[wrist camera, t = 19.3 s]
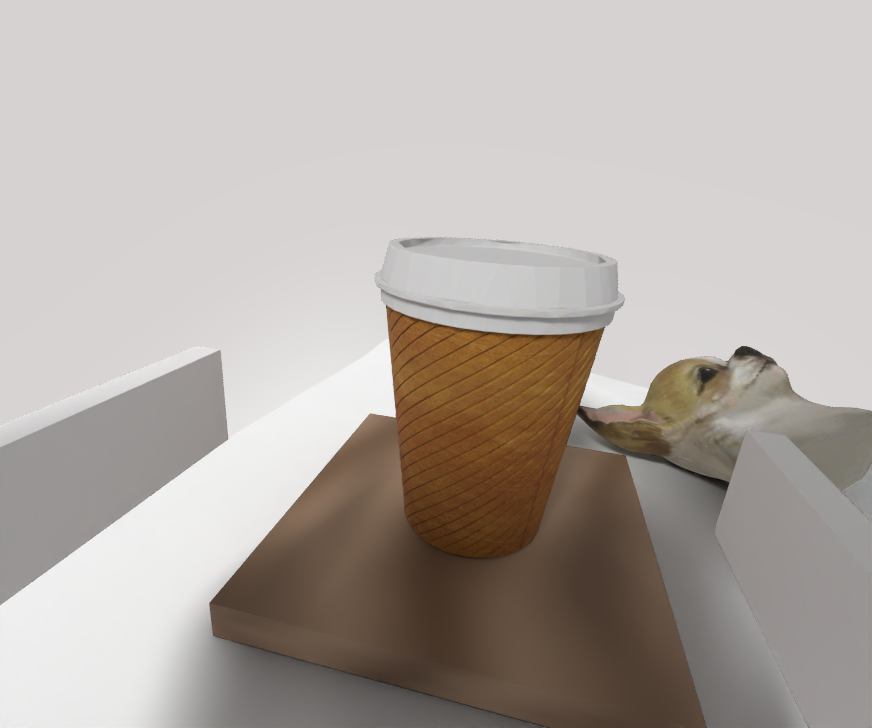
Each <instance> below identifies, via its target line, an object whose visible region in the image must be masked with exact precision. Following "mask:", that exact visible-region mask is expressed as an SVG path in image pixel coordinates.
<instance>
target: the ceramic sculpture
mask: <svg viewBox="0 0 872 728" xmlns="http://www.w3.org/2000/svg"><path fill="white" fill-rule="evenodd" d="M577 415H578V416H579V417H580V418H581V419H582V420H583V421H584V422H585V423H586V424H587V425H588V426H589V427H590V428H592V429H593V430H594V431H595V432H597V433H598V434H599V435H601V436H602V437H604V438H605V439H607V440H608V441H609V442H610V443H612V444H613V445H615V446H617V447H620V448H622V449H624V450H628V451H632V452H637V453H643V454H649V455H655V456H663V457H664V458H665V459H667V460H668V461H670V462H672V463H674V464H676V465H678V466H680V467H682V468H685V469H688V470H690V471H693V472H696V473H698V474H701V475H704V476H708V477H712V478H718V479H721V480H724V481H727V482H730V480H731V477H732V474H733V471H734V468H735V465H736V461H737V458H738V455H739V452H740V449H741V446H742V443H743V440H744V437H745V434H746V430H753V431H760V432H766V433H773V434H779V435H785V436H786V437H787V438H788V439H789V440H790V441H791V442H792V443H793V444H794V445H795V446H796V447H797V448H798V449H799V450H800V451H801V452H802V453H803V454H804V455H805V456H806V457H807V458H808V459H809V460H810V461H811V462H812V463H813V464H814V465H815V466H816V467H817V468H818V469H819V470H820V471H821V472H822V473H823V474H824V475H825V476H826V477H827V478H828V479H829V480H830V481H831V482H832V483H833V484H834V485H835V486H836V487H837V488H838V489H839V490H840V491H842V490H843V489H844V488H846V487H848V486H849V485H851V484H853V483H854V482H856V481H858V480H860V479H861V478H862V477H863V476H864V475H865V474H866V472H867V470H868V468H869V467H870V465H871V463H872V411H870V410H864V409H858V408H844V407H829V406H824V405H820V404H816V403H813V402H810V401H808V400H806V399H804V398H802V397H801V396H799V395H798V394H796V393H795V392H794V391H793V390H792V388H791V385H790V382H789V378H788V374H787V373H786V371H785V370H784V369H783V368H781V367H779V366H778V365H777V363H776V362H775V361H774V360H773V359H772V358H770V357H767V356H765V355H763V354H762V353H760V352H758V351H757V350H755V349H753V348H750V347H747V346H741V347H740V348H738V349H737V350H736V351H735V353H734V354H733V355H732V356H731V358H730V359H729V361H723V360H721V359H718V358H716V357H708V356H704V357H696V358H690V359H685V360H680V361H678V362H676V363H674V364H672V365H670V366H668V367H666V368H665V369H663V370H662V371H661V372H660V373H659V374H658V375H657V376H656V377H655V379H654V380H653V382H652V383H651V385H650V388H649V391H648V394H647V396H646V399H645V402H644V403H643V404H642V405H641V406H625V405H610V406H606V407H602V408H599V409H595V408H589V407H584V406H579V408H578V410H577Z"/></svg>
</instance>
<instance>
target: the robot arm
mask: <svg viewBox="0 0 872 728" xmlns="http://www.w3.org/2000/svg"><path fill="white" fill-rule="evenodd" d="M226 440H228V432H227V420H226V409H225V397H224V386H223V374H222V363H221V351H220V350H219V349H212V348H206V347H199V346H195V347H192V348H190V349H187V350H185V351H182V352H180V353H177V354H175V355H172V356H170V357H167V358H165V359H162V360H160V361H158V362H155V363H153V364H150V365H147V366H145V367H143V368H140V369H138V370H135V371H133V372H130V373H128V374H125V375H123V376H120V377H118V378H115V379H113V380H110V381H108V382H105V383H103V384H100V385H98V386H95V387H93V388H90V389H88V390H86V391H83V392H80V393H78V394H75V395H73V396H70V397H68V398H65V399H63V400H61V401H58V402H56V403H53V404H51V405H48V406H46V407H43V408H41V409H38V410H36V411H33V412H31V413H28V414H26V415H23V416H21V417H18V418H16V419H13V420H11V421H8V422H6V423H4V424H1V425H0V605H1V604H3V603H4V602H5V601H7V600H8V599H9V598H11V597H12V596H13V595H15V594H16V593H18V592H19V591H20V590H22V589H23V588H24V587H26V586H27V585H29V584H30V583H31V582H33V581H34V580H35V579H37V578H38V577H40V576H41V575H42V574H44V573H45V572H46V571H48V570H49V569H51V568H52V567H53V566H55V565H56V564H57V563H59V562H60V561H62V560H63V559H64V558H66V557H67V556H68V555H70V554H71V553H73V552H74V551H75V550H77V549H78V548H79V547H81V546H82V545H84V544H85V543H86V542H88V541H89V540H90V539H92V538H93V537H94V536H96V535H97V534H99V533H100V532H101V531H103V530H104V529H105V528H107V527H108V526H110V525H111V524H112V523H114V522H115V521H116V520H118V519H119V518H121V517H122V516H123V515H125V514H126V513H127V512H129V511H130V510H132V509H133V508H134V507H136V506H137V505H138V504H140V503H141V502H143V501H144V500H145V499H147V498H148V497H149V496H151V495H152V494H154V493H155V492H156V491H158V490H159V489H160V488H162V487H163V486H165V485H166V484H167V483H169V482H170V481H171V480H173V479H174V478H175V477H177V476H178V475H180V474H181V473H182V472H184V471H185V470H186V469H188V468H189V467H191V466H192V465H193V464H195V463H196V462H197V461H199V460H200V459H202V458H203V457H204V456H206V455H207V454H208V453H210V452H211V451H213V450H214V449H215V448H217V447H218V446H219V445H221V444H222V443H224V442H225V441H226ZM714 534H715V536H716V538H717V540H718V542H719V544H720V546H721V548H722V550H723V552H724V554H725V556H726V559H727V561H728V563H729V565H730V567H731V569H732V571H733V573H734V575H735V577H736V579H737V581H738V583H739V585H740V587H741V590H742V592H743V594H744V596H745V598H746V600H747V602H748V604H749V606H750V608H751V610H752V612H753V614H754V616H755V618H756V620H757V623H758V625H759V627H760V629H761V631H762V633H763V635H764V637H765V639H766V641H767V643H768V645H769V647H770V649H771V651H772V653H773V656H774V658H775V660H776V662H777V664H778V666H779V668H780V670H781V672H782V674H783V676H784V678H785V680H786V682H787V684H788V687H789V689H790V691H791V693H792V695H793V697H794V699H795V701H796V703H797V705H798V707H799V709H800V711H801V713H802V715H803V717H804V720H805V722H806V724H807V726H808V728H872V522H871V521H870V520H869V519H868V518H867V517H866V516H865V515H864V514H863V513H862V512H861V511H860V510H859V509H858V508H857V507H856V506H855V505H854V504H853V503H852V502H851V501H850V500H849V499H848V498H847V497H846V496H845V495H844V494H843V493H842V492H841V491H840V490H839V489H838V488H837V487H836V486H835V485H834V484H833V483H832V482H831V481H830V480H829V479H828V478H827V477H826V476H825V475H824V474H823V473H822V472H821V471H820V470H819V469H818V468H817V467H816V466H815V465H814V464H813V463H812V462H811V461H810V460H809V459H808V458H807V457H806V456H805V455H804V454H803V453H802V452H801V451H800V450H799V449H798V448H797V447H796V446H795V445H794V444H793V443H792V442H791V441H790V440H789V439H788V438H787V437H786V436H785V435H779V434H773V433H766V432H760V431H753V430H746V434H745V437H744V440H743V443H742V446H741V449H740V452H739V455H738V458H737V461H736V465H735V468H734V471H733V474H732V477H731V480H730V483H729V486H728V489H727V493H726V496H725V499H724V502H723V505H722V508H721V511H720V514H719V517H718V520H717V524H716V527H715V530H714Z"/></svg>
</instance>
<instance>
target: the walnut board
mask: <svg viewBox="0 0 872 728" xmlns="http://www.w3.org/2000/svg"><path fill="white" fill-rule="evenodd" d="M399 450H400V449H399V443H398V434H397V421H396V418H394V417H388V416H382V415H376V414H369V415H368V417H367V418H366V419H365V420H364V421H363V422H362V424H361V425H360V426H359V427H358V428H357V430H356V431H355V432H354V433H353V434H352V435H351V437H350V438H349V439H348V440H347V441H346V443H345V444H344V445H343V446H342V447H341V448H340V450H339V451H338V452H337V453H336V454H335V456H334V457H333V458H332V459H331V460H330V461H329V463H328V464H327V465H326V466H325V467H324V469H323V470H322V471H321V472H320V473H319V474H318V476H317V477H316V478H315V479H314V480H313V481H312V483H311V484H310V485H309V486H308V487H307V489H306V490H305V491H304V492H303V493H302V494H301V496H300V497H299V498H298V499H297V500H296V502H295V503H294V504H293V505H292V506H291V507H290V509H289V510H288V511H287V512H286V513H285V515H284V516H283V517H282V518H281V519H280V520H279V522H278V523H277V524H276V525H275V526H274V528H273V529H272V530H271V531H270V532H269V533H268V535H267V536H266V537H265V538H264V539H263V541H262V542H261V543H260V544H259V545H258V546H257V548H256V549H255V550H254V551H253V552H252V554H251V555H250V556H249V557H248V558H247V559H246V561H245V562H244V563H243V564H242V565H241V567H240V568H239V569H238V570H237V571H236V572H235V574H234V575H233V576H232V577H231V578H230V580H229V581H228V582H227V583H226V584H225V585H224V587H223V588H222V589H221V590H220V591H219V592H218V594H217V595H216V596H215V597H214V598H213V600H212V601H211V602H210V603H209V605H210V613H211V621H212V630H213V636H216V637H220V638H223V639H227V640H231V641H234V642H238V643H242V644H245V645H249V646H253V647H256V648H260V649H264V650H267V651H271V652H275V653H278V654H282V655H286V656H289V657H293V658H297V659H300V660H304V661H308V662H311V663H315V664H319V665H322V666H326V667H330V668H333V669H337V670H341V671H344V672H348V673H352V674H355V675H359V676H363V677H366V678H370V679H374V680H377V681H381V682H385V683H388V684H392V685H396V686H399V687H403V688H407V689H410V690H414V691H418V692H421V693H425V694H429V695H432V696H436V697H439V698H443V699H447V700H450V701H454V702H458V703H461V704H465V705H469V706H472V707H476V708H480V709H483V710H487V711H491V712H494V713H498V714H502V715H505V716H509V717H513V718H516V719H520V720H524V721H527V722H531V723H535V724H538V725H542V726H546V727H549V728H707V727H706V724H705V721H704V717H703V714H702V711H701V707H700V704H699V700H698V697H697V694H696V690H695V687H694V684H693V680H692V677H691V674H690V670H689V667H688V664H687V660H686V657H685V654H684V650H683V647H682V643H681V640H680V637H679V633H678V630H677V627H676V623H675V620H674V617H673V613H672V610H671V607H670V603H669V600H668V596H667V593H666V590H665V586H664V583H663V580H662V576H661V573H660V570H659V566H658V563H657V560H656V556H655V553H654V550H653V546H652V543H651V539H650V536H649V533H648V529H647V526H646V523H645V519H644V516H643V513H642V509H641V506H640V503H639V499H638V496H637V493H636V489H635V486H634V482H633V479H632V476H631V472H630V469H629V466H628V462H627V459H626V456H625V455H619V454H613V453H607V452H601V451H595V450H589V449H583V448H577V447H571V446H566V447H565V450H564V453H563V457H562V460H561V462H560V465H559V468H558V471H557V474H556V477H555V481H554V483H553V486H552V489H551V493H550V495H549V498H548V501H547V504H546V507H545V510H544V513H543V516H542V519H541V522H540V526H539V530H538V532H537V534H536V536H535V537H534V539H533V540H532V541H531V542H530V543H529V544H528V545H526V546H525V547H523V548H521V549H520V550H518V551H517V552H514V553H511V554H508V555H505V556H499V557H487V558H474V557H466V556H460V555H456V554H453V553H449V552H446V551H443V550H441V549H439V548H437V547H435V546H432V545H431V544H429V543H428V542H426V541H425V540H423V539H422V538H421V537H420V536H419V535H417V534H416V533H415V532H414V530H413V529H412V527H411V526H410V525H409V523H408V522H407V519H406V516H405V513H404V497H403V486H402V473H401V461H400V455H399Z"/></svg>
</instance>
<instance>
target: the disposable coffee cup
mask: <svg viewBox="0 0 872 728" xmlns="http://www.w3.org/2000/svg"><path fill="white" fill-rule="evenodd" d="M375 281H376V284H377V286H378V287H379V288H381V299H382V301H383V302H384V303H385V305H386V309H387V319H388V332H389V342H390V352H391V364H392V375H393V387H394V398H395V408H396V421H397V434H398V443H399V449H400V450H399V455H400V461H401V473H402V486H403V497H404V513H405V516H406V519H407V522H408V523H409V525H410V526H411V527H412V529H413V530H414V532H415V533H416V534H417V535H419V536H420V537H421V538H422V539H423V540H425V541H426V542H428V543H429V544H431V545H432V546H435V547H437V548H439V549H441V550H443V551H446V552H449V553H453V554H456V555H460V556H466V557H474V558H487V557H499V556H505V555H508V554H511V553H514V552H517V551H518V550H520V549H521V548H523V547H525V546H526V545H528V544H529V543H530V542H531V541H532V540H533V539H534V537H535V536H536V534H537V532H538V530H539V526H540V522H541V519H542V516H543V513H544V510H545V507H546V504H547V501H548V498H549V495H550V493H551V489H552V486H553V483H554V481H555V477H556V474H557V471H558V468H559V465H560V462H561V460H562V457H563V453H564V450H565V447H566V444H567V441H568V438H569V435H570V432H571V429H572V425H573V423H574V420H575V417H576V414H577V410H578V408H579V405H580V402H581V399H582V396H583V393H584V390H585V387H586V383H587V380H588V378H589V375H590V371H591V368H592V365H593V363H594V360H595V356H596V352H597V349H598V346H599V343H600V340H601V337H602V334H603V331H604V328H605V326H607V325H609V324H610V323H611V322H612V320H613V317H614V313H615V311H617V310H618V309H619V308H621V307H622V306H623V303H624V300H625V298H624V295H623V294H621V293H620V292H619V291H618V274H617V261H616V260H615V259H613V258H611V257H608V256H605V255H601V254H596V253H592V252H587V251H581V250H576V249H571V248H564V247H556V246H548V245H542V244H533V243H523V242H512V241H503V240H486V239H472V238H452V237H448V238H447V237H419V238H404V239H395V240H392V241H389V245H388V248H387V252H386V256H385V261H384V264H383V268H382V270H380V271H379V272H377V273H376V274H375Z"/></svg>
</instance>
